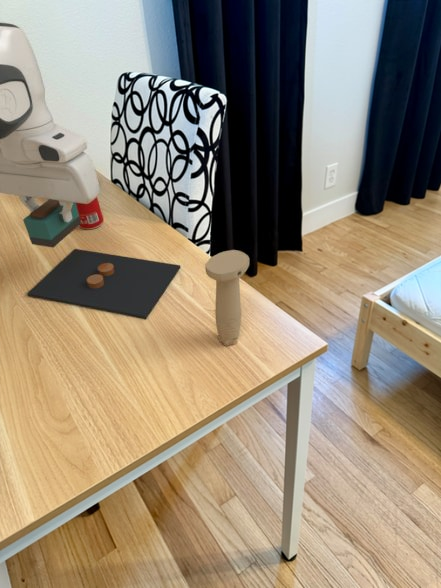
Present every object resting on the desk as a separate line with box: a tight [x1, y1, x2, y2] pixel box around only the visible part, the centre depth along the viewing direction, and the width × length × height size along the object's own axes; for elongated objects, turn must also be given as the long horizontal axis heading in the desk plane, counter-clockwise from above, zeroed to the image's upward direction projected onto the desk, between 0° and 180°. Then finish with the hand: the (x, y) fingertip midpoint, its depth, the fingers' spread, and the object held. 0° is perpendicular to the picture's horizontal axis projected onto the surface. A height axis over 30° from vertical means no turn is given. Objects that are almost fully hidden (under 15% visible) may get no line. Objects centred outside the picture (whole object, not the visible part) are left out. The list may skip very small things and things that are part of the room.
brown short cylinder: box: [87, 274, 104, 289], centre depth 80 cm, size 3×3×1 cm
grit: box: [98, 263, 115, 277], centre depth 83 cm, size 3×3×1 cm
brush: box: [23, 199, 81, 248], centre depth 77 cm, size 4×9×6 cm, turn 163°
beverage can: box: [76, 196, 104, 230], centre depth 95 cm, size 6×6×15 cm
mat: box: [26, 248, 181, 320], centre depth 82 cm, size 24×16×1 cm, turn 73°
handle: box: [204, 249, 250, 347], centre depth 64 cm, size 5×6×15 cm
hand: (52, 218), depth 77 cm, fingers closed on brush, 4 cm apart
